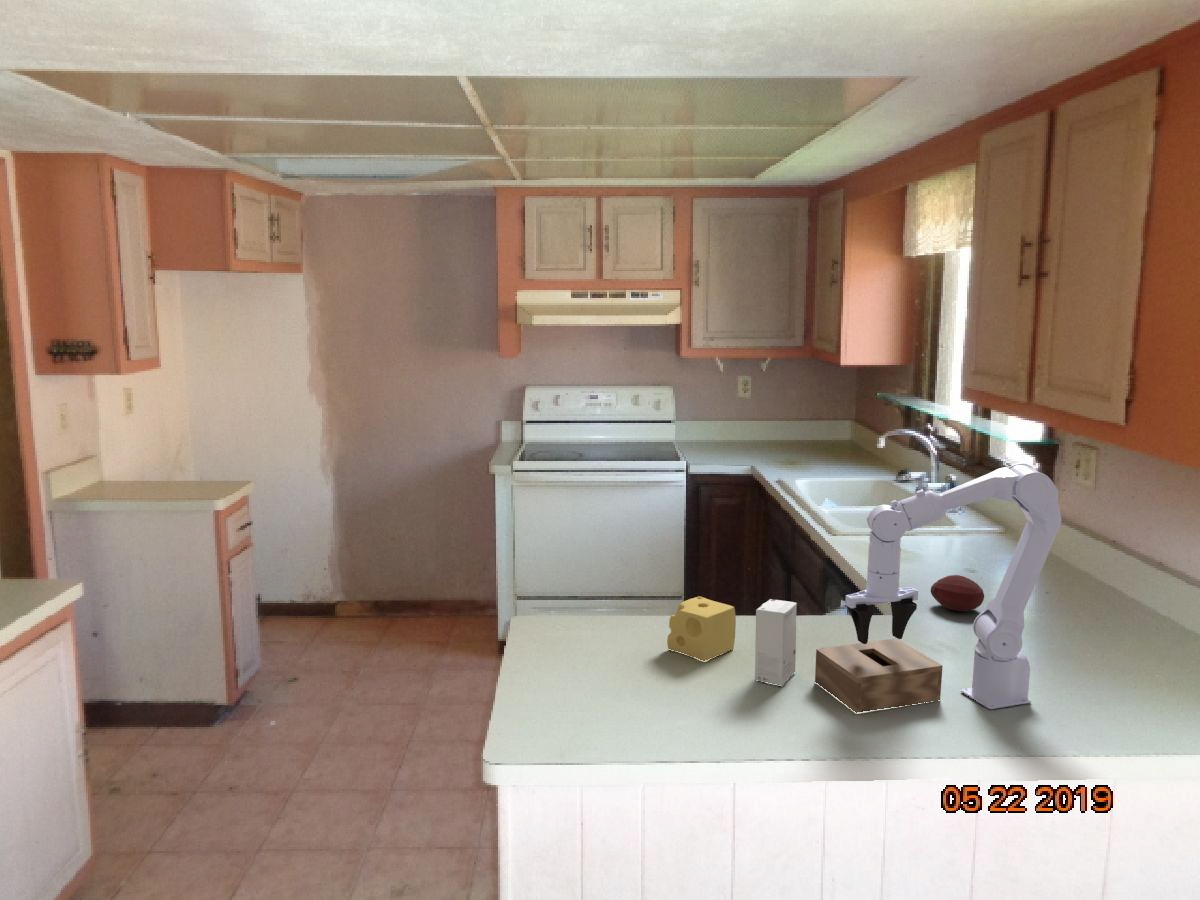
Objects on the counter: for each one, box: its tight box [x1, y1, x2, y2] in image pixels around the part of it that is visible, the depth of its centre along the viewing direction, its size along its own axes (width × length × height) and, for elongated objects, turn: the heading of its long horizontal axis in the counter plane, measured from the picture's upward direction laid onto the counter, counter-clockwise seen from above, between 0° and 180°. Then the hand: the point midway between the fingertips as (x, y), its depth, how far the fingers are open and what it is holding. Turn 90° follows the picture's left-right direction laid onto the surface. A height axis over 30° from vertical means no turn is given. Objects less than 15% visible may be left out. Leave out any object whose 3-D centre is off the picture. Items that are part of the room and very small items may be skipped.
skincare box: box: [754, 598, 798, 687], centre depth 177 cm, size 8×6×15 cm
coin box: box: [814, 638, 943, 713], centre depth 171 cm, size 18×14×7 cm
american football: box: [930, 574, 985, 612], centre depth 215 cm, size 12×11×8 cm
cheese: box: [667, 595, 737, 661], centre depth 191 cm, size 10×11×10 cm
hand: (879, 639), depth 170 cm, fingers open, 7 cm apart
